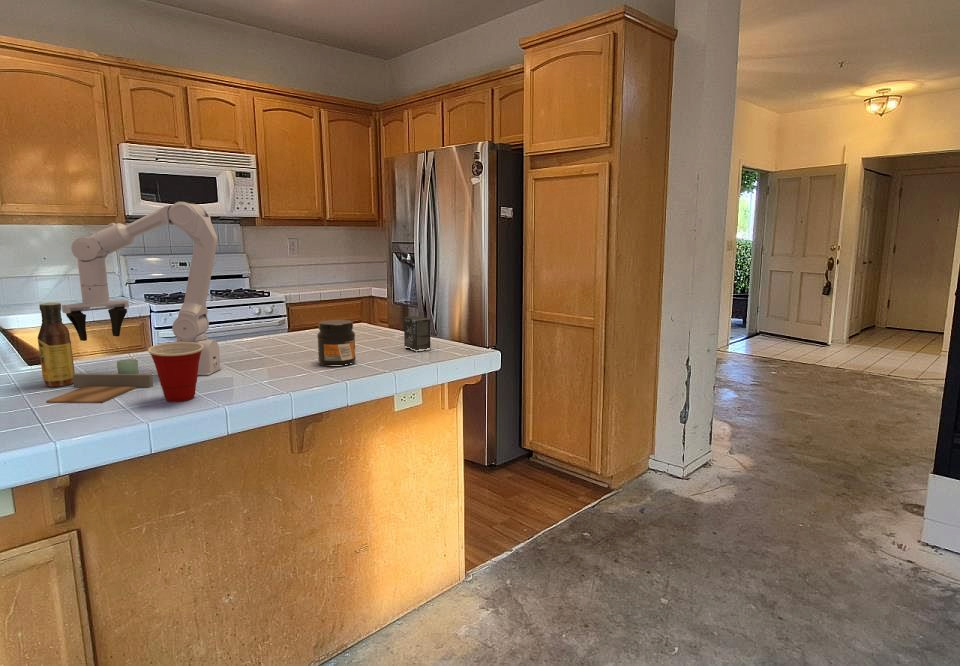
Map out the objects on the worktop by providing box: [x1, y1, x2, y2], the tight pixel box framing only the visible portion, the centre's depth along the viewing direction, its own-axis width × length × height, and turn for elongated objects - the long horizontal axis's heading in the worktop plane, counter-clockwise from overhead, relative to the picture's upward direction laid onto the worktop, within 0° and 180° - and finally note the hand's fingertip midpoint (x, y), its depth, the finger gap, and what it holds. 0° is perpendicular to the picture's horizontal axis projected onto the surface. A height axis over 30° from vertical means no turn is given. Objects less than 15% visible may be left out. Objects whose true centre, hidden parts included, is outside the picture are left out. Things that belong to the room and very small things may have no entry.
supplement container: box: [316, 319, 357, 366], centre depth 161 cm, size 10×10×12 cm
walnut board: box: [45, 386, 136, 404], centre depth 127 cm, size 12×12×1 cm
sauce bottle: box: [37, 302, 76, 388], centre depth 134 cm, size 7×6×20 cm
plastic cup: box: [147, 341, 204, 403], centre depth 124 cm, size 11×11×12 cm
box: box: [403, 315, 431, 350], centre depth 182 cm, size 8×6×11 cm
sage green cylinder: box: [116, 358, 140, 374], centre depth 140 cm, size 4×4×5 cm
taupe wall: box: [73, 373, 154, 388], centre depth 134 cm, size 18×1×3 cm, turn 91°
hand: (100, 338), depth 144 cm, fingers open, 7 cm apart
